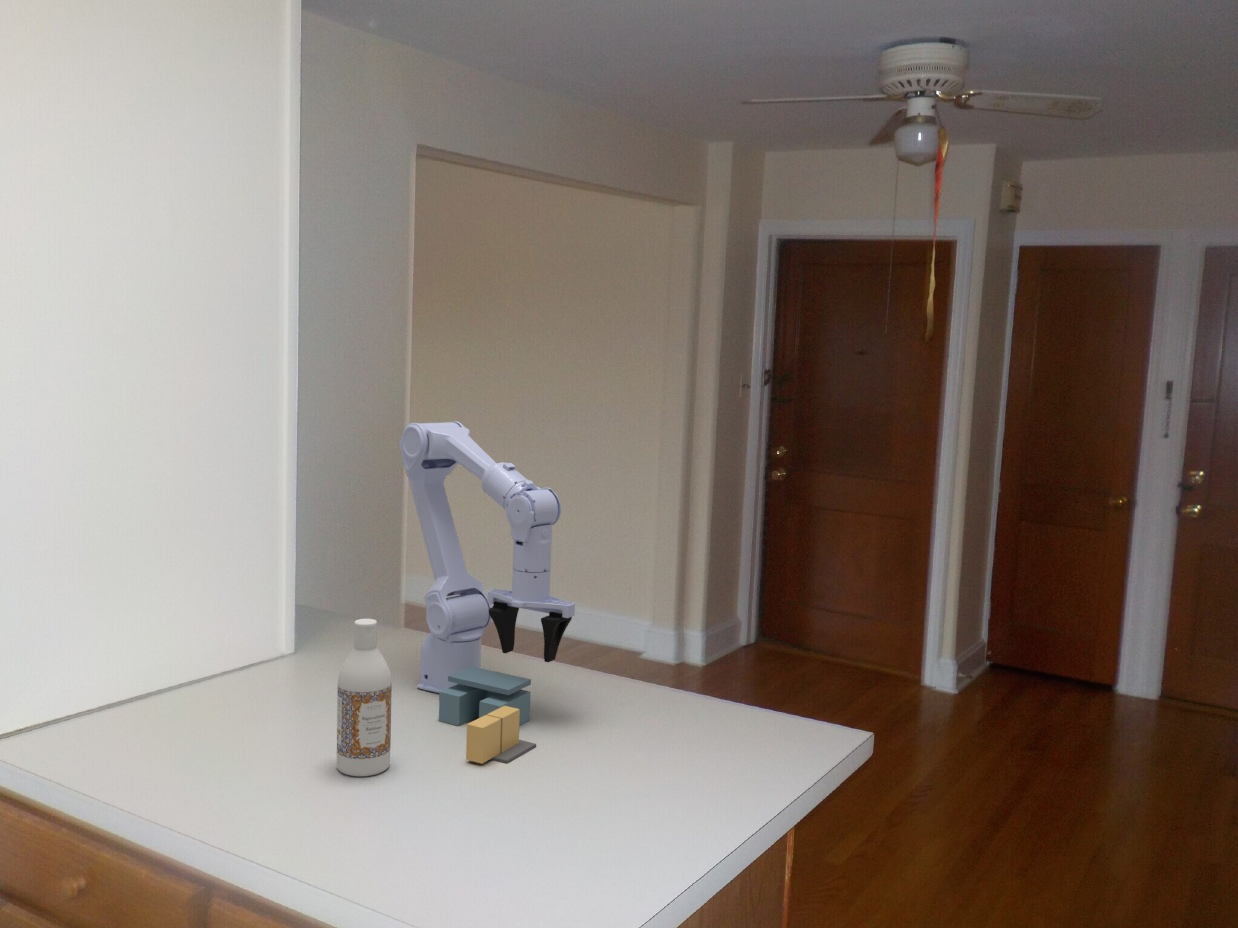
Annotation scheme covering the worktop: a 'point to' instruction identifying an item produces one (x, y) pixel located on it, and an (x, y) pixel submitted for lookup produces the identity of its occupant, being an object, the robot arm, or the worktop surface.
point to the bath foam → (364, 706)
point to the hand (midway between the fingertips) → (528, 655)
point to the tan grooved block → (492, 734)
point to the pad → (514, 751)
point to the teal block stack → (482, 695)
